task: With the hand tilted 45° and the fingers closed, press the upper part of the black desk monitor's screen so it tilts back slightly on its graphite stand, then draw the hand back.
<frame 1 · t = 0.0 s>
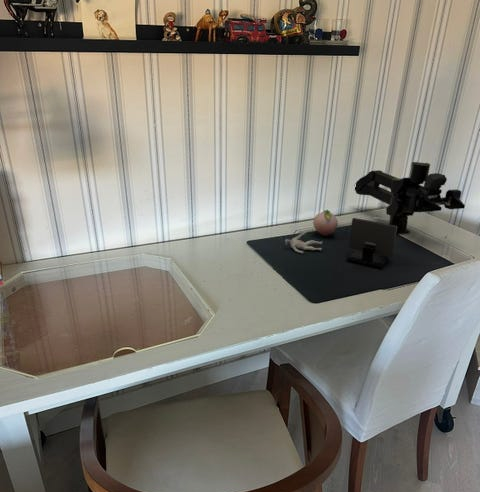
hand: (452, 207, 157), 17 cm above the table, tool horizontal, fingers open, 9 cm apart
monitor screen: (371, 237, 155), point 8 cm above the table, hinge at 0.0°
monitor stand: (367, 261, 158), on the table
decorative fruit: (323, 236, 178), on the table
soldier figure: (303, 250, 166), on the table
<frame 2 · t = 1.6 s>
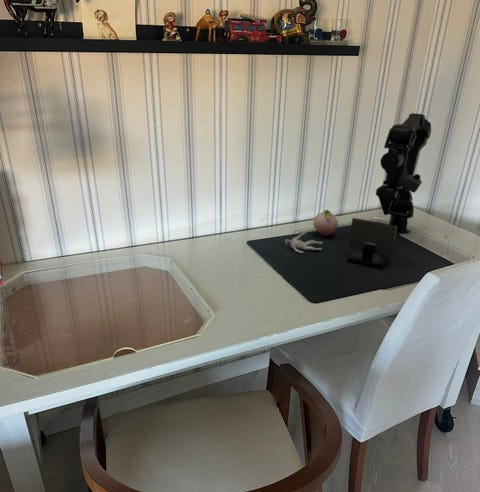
hand: (388, 211, 166), 12 cm above the table, tool pointing down, fingers open, 8 cm apart
nothing on the table moved.
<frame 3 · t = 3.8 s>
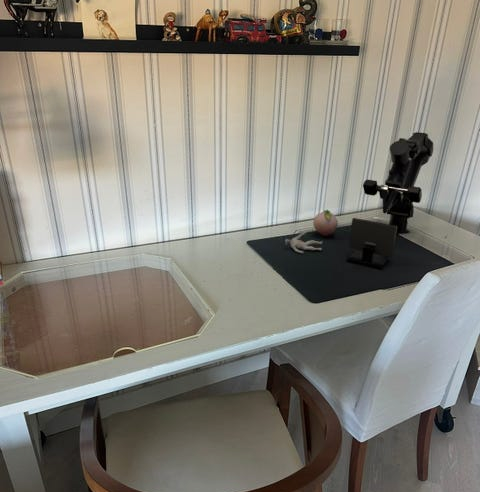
hand: (384, 212, 161), 13 cm above the table, tool tilted 45°, fingers closed
nothing on the table moved.
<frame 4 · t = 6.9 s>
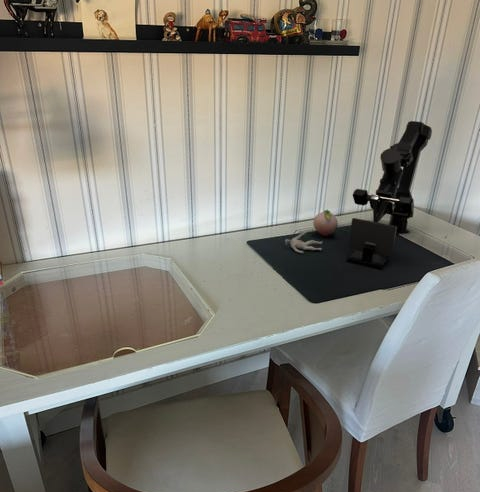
hand: (374, 223, 154), 12 cm above the table, tool tilted 45°, fingers closed, pressing on monitor screen
monitor screen: (371, 237, 155), point 8 cm above the table, hinge at 2.7°, touching gripper
everything else where it was.
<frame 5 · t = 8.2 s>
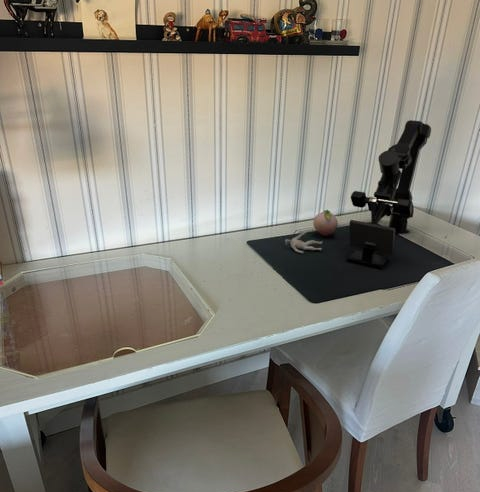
hand: (372, 226, 153), 12 cm above the table, tool tilted 45°, fingers closed
monitor screen: (371, 237, 154), point 8 cm above the table, hinge at 20.4°
everything else where it was.
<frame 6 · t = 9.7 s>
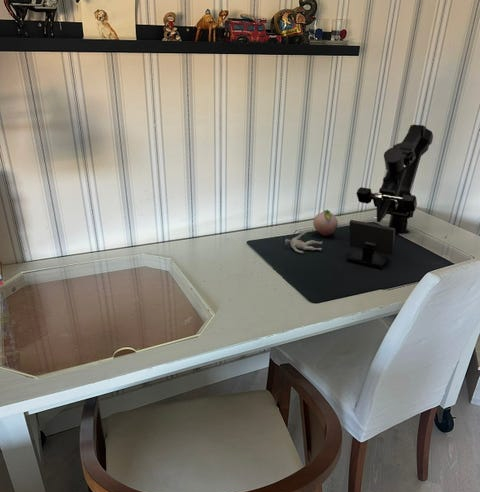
hand: (378, 221, 157), 12 cm above the table, tool tilted 45°, fingers closed
nothing on the table moved.
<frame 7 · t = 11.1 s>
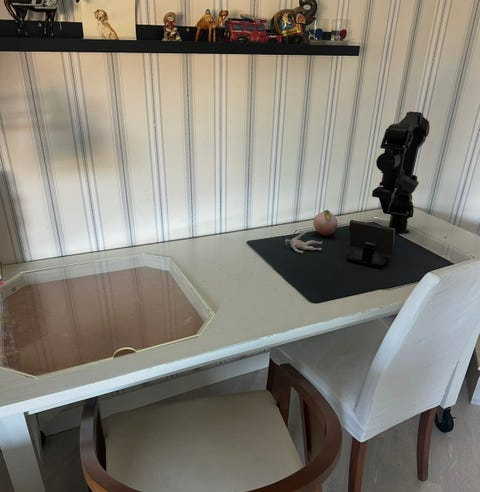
hand: (385, 213, 163), 13 cm above the table, tool pointing down, fingers closed
nothing on the table moved.
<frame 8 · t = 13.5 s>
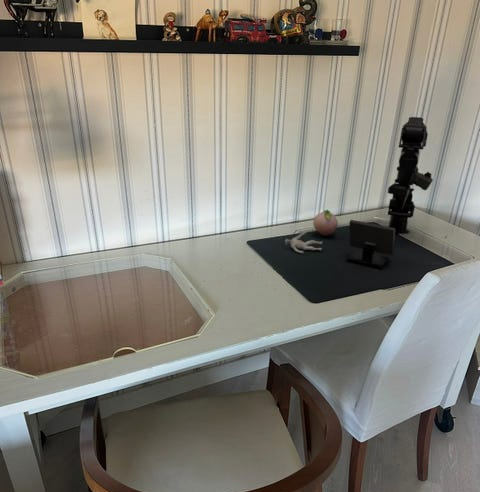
hand: (400, 209, 169), 12 cm above the table, tool pointing down, fingers closed
nothing on the table moved.
at the end: monitor screen at +20° (first picture: +0°) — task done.
